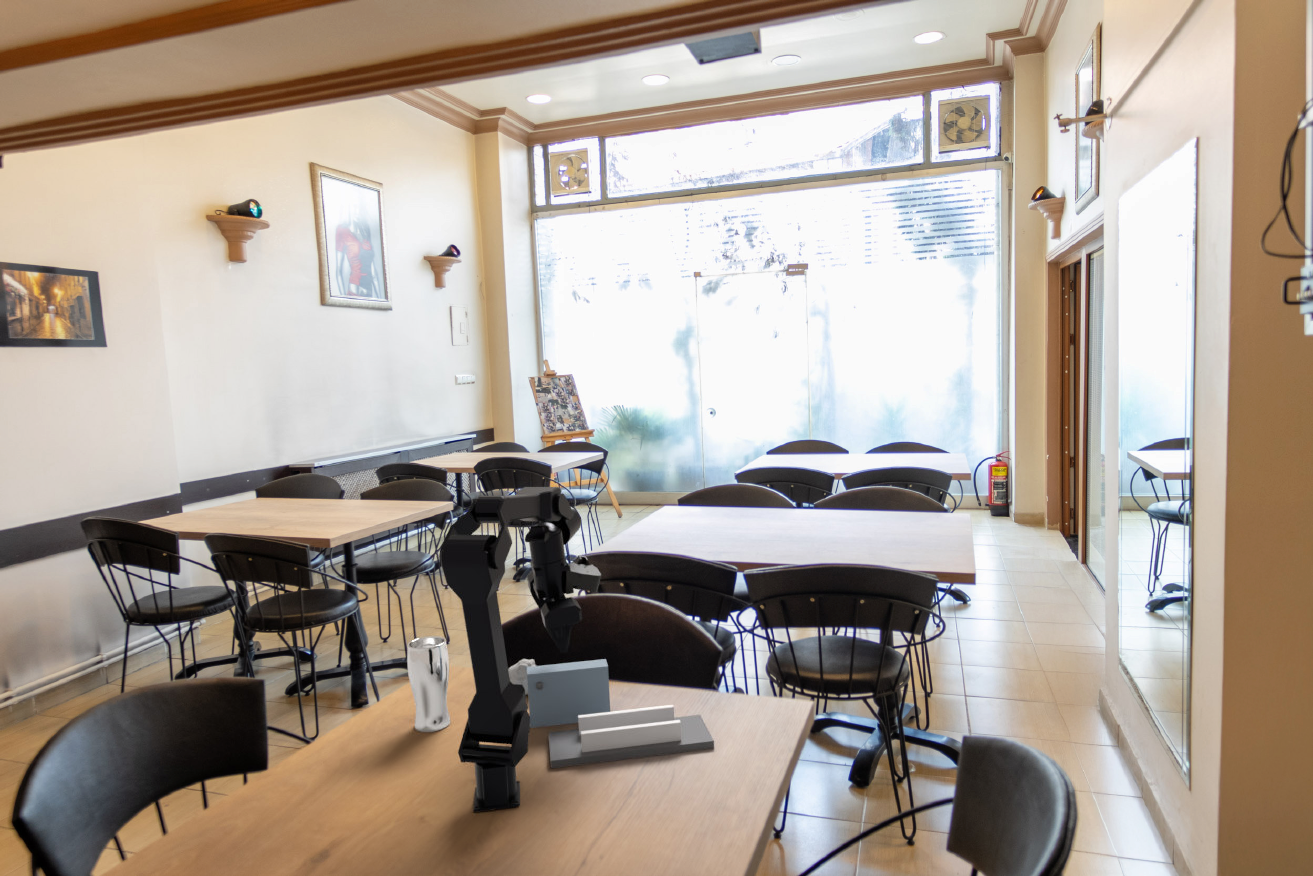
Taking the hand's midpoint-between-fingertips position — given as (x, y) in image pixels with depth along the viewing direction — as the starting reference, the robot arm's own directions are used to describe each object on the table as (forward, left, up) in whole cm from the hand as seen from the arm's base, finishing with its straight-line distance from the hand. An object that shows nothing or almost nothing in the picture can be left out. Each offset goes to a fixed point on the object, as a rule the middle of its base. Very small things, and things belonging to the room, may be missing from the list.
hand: (558, 639), depth 141 cm
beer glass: (+3, +23, -15) cm, 27 cm away
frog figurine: (+12, +7, -15) cm, 20 cm away
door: (-1, -1, -14) cm, 14 cm away
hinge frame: (-13, -10, -14) cm, 22 cm away
